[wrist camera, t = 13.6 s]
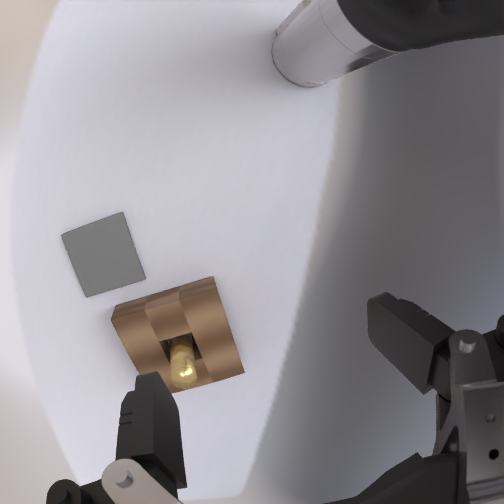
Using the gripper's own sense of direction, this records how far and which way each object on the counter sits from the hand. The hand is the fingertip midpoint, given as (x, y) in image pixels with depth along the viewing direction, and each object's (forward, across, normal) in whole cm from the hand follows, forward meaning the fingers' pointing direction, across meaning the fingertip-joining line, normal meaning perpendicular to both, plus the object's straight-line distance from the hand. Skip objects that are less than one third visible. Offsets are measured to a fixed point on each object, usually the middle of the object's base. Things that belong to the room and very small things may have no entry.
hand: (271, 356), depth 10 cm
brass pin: (+28, +8, +15) cm, 33 cm away
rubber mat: (+28, +14, +1) cm, 31 cm away
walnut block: (+28, +8, +15) cm, 33 cm away
